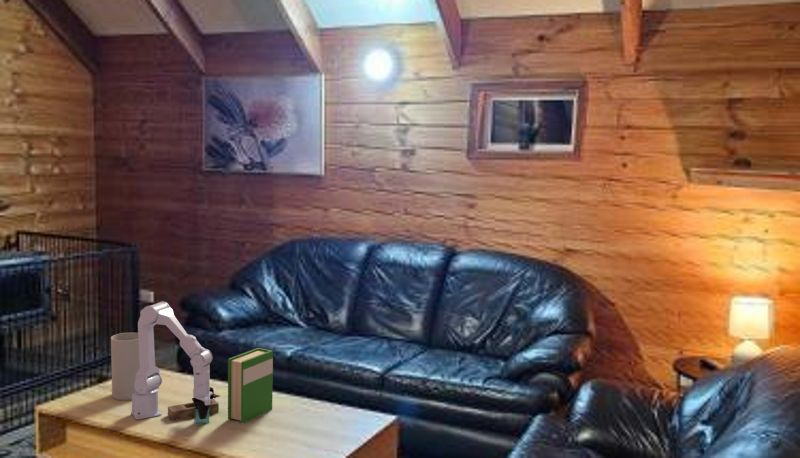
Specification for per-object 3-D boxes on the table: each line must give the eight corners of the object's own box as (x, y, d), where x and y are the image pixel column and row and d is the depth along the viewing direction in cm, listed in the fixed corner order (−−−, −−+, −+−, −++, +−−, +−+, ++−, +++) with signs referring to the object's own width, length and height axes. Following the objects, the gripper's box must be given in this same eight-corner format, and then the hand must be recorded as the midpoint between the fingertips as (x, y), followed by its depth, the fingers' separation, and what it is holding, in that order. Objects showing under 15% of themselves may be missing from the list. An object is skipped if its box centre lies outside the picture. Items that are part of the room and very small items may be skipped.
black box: (202, 405, 289) (202, 394, 288) (189, 401, 292) (189, 390, 292) (224, 396, 299) (224, 385, 299) (212, 392, 303) (212, 382, 302)
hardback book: (242, 423, 270) (243, 362, 267) (227, 419, 273) (228, 358, 270) (272, 409, 285) (272, 350, 282) (257, 405, 289) (258, 347, 286)
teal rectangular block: (196, 425, 267) (196, 409, 267) (194, 422, 269) (194, 407, 269) (209, 422, 270) (209, 407, 269) (207, 420, 272) (207, 405, 271)
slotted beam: (172, 420, 271) (172, 411, 270) (167, 415, 276) (167, 406, 275) (218, 412, 280) (218, 403, 280) (213, 407, 285) (213, 398, 285)
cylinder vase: (111, 392, 298) (110, 334, 295) (142, 388, 303) (142, 331, 300) (112, 402, 287) (111, 342, 284) (145, 398, 292) (145, 339, 289)
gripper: (218, 386, 264) (218, 422, 266) (205, 375, 276) (205, 409, 278) (199, 389, 260) (199, 425, 262) (187, 378, 272) (187, 412, 274)
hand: (201, 417), depth 269 cm, fingers closed on teal rectangular block, 2 cm apart
